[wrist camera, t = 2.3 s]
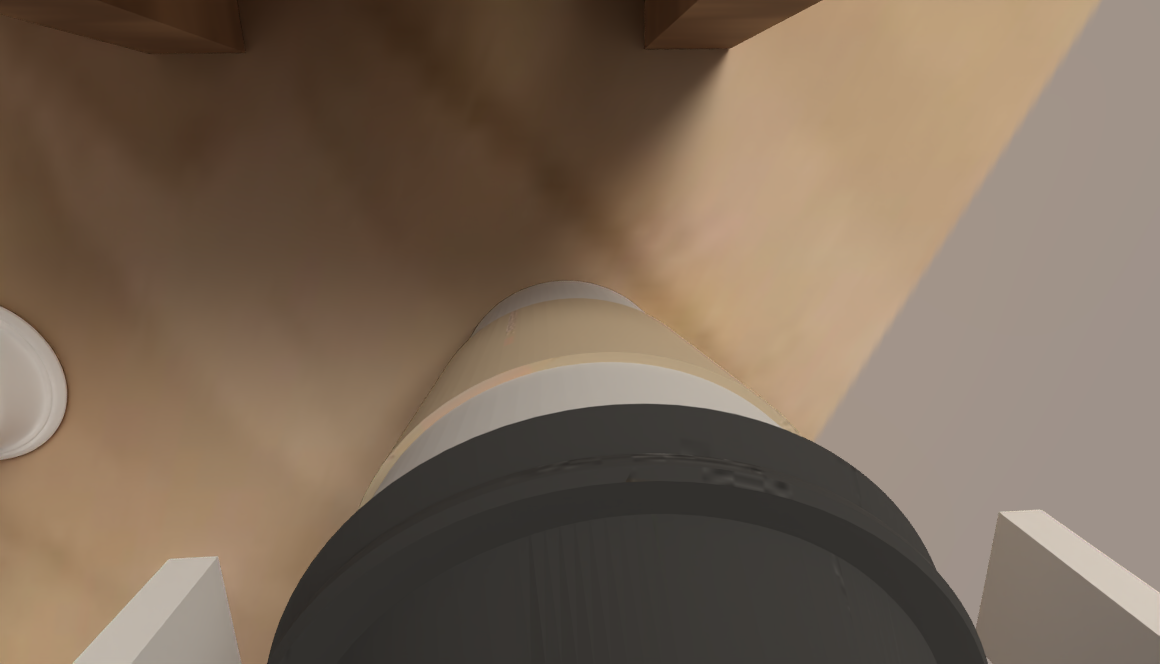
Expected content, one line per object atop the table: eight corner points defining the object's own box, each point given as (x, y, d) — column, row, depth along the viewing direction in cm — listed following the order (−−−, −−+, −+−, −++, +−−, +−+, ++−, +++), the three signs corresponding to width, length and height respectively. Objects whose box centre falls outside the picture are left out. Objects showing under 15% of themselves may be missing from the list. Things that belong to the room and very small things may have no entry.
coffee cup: (662, 518, 22) (920, 1228, 7) (408, 479, 20) (125, 1240, 6) (733, 275, 19) (1316, 624, 5) (451, 215, 18) (156, 449, 4)
